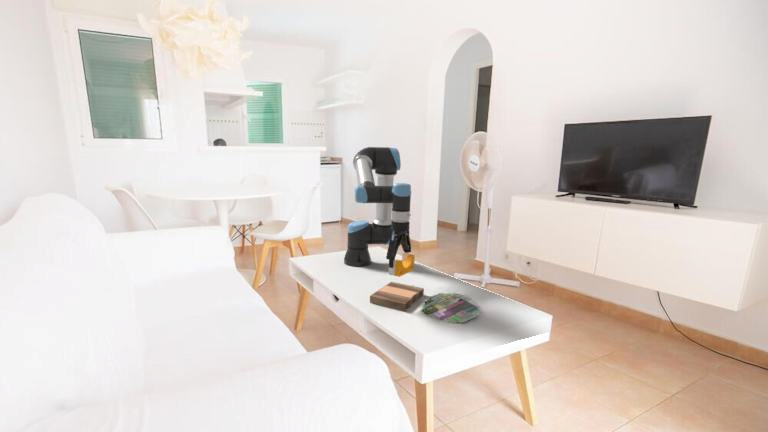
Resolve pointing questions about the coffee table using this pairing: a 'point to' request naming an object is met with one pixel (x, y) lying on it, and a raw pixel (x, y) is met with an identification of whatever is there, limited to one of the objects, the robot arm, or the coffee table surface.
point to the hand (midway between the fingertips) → (398, 270)
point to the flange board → (397, 296)
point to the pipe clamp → (404, 265)
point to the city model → (451, 307)
